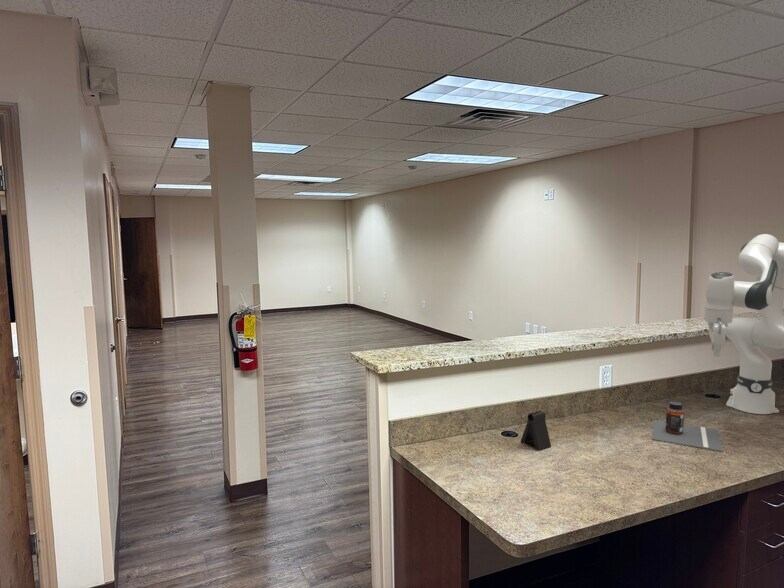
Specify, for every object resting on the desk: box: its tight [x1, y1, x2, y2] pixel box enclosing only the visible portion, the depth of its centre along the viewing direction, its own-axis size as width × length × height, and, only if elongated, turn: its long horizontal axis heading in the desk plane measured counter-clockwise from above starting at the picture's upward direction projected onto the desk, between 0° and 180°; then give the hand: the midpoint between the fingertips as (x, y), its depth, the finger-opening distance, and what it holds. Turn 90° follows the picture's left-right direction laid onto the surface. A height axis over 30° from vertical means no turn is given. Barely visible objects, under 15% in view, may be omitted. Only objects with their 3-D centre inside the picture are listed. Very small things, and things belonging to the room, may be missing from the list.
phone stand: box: [520, 410, 552, 451], centre depth 187 cm, size 9×6×12 cm, turn 31°
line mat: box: [652, 419, 723, 453], centre depth 196 cm, size 22×22×1 cm
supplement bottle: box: [665, 401, 685, 434], centre depth 197 cm, size 6×6×11 cm
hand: (715, 353), depth 194 cm, fingers open, 8 cm apart
